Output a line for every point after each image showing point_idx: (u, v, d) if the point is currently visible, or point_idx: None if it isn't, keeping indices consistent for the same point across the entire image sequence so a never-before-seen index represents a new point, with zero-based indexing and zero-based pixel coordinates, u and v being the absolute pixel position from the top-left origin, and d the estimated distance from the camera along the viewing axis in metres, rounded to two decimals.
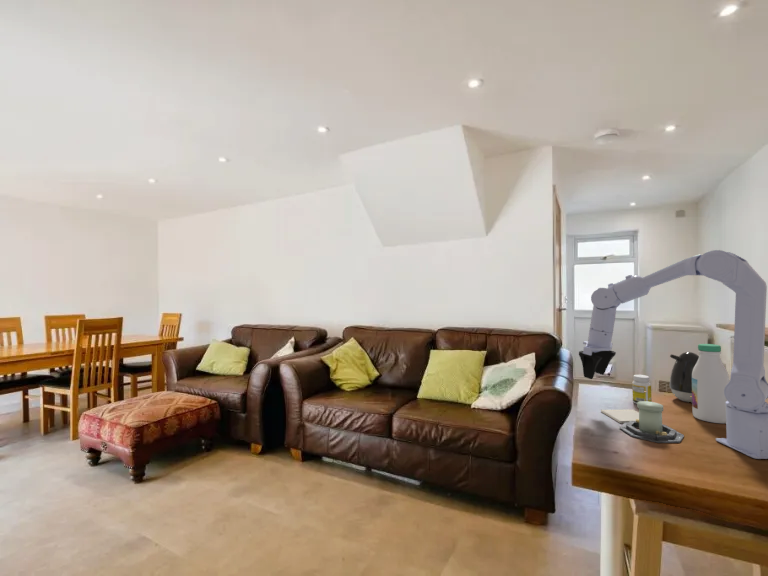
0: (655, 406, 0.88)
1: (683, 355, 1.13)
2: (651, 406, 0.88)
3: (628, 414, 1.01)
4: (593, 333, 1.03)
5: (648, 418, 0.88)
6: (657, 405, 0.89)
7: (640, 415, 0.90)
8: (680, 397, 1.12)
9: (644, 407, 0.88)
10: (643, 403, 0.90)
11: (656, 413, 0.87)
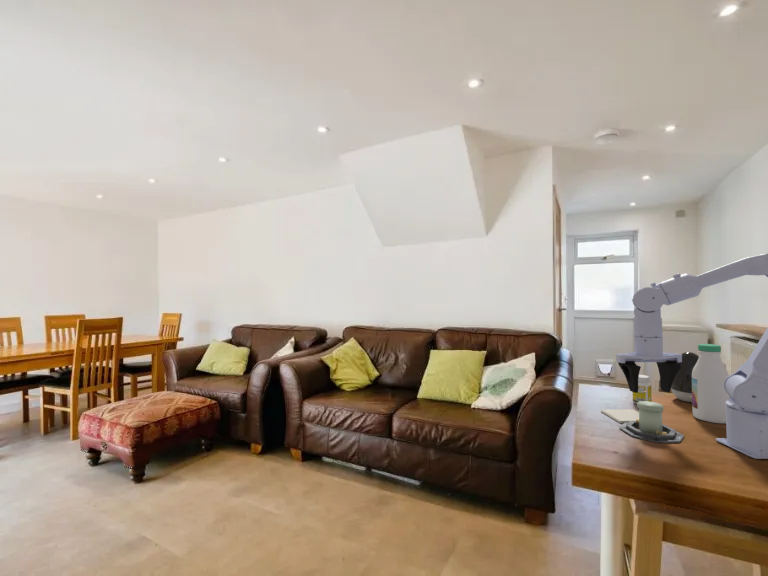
0: (655, 406, 0.88)
1: (683, 355, 1.13)
2: (651, 406, 0.88)
3: (628, 414, 1.01)
4: (634, 340, 0.91)
5: (648, 418, 0.88)
6: (657, 405, 0.89)
7: (640, 415, 0.90)
8: (680, 397, 1.12)
9: (644, 407, 0.88)
10: (643, 403, 0.90)
11: (656, 413, 0.87)
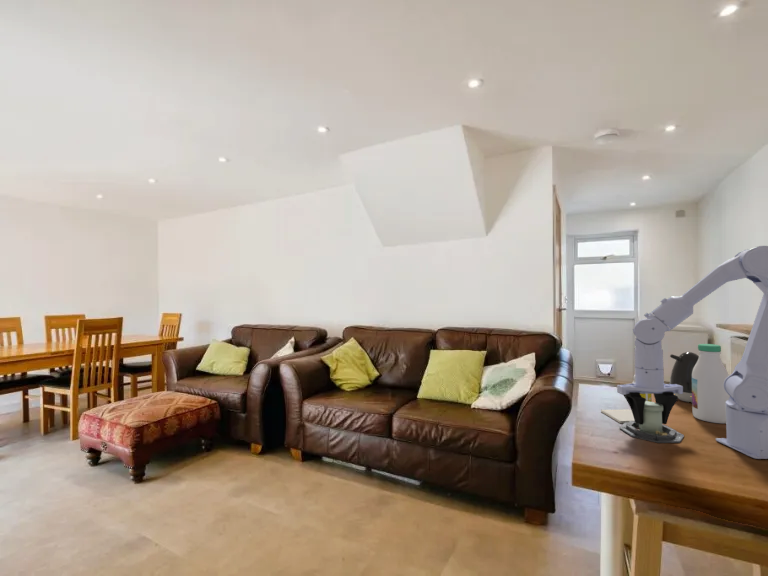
0: (655, 406, 0.88)
1: (683, 355, 1.13)
2: (651, 406, 0.88)
3: (628, 414, 1.01)
4: (635, 371, 0.91)
5: (648, 418, 0.88)
6: (657, 405, 0.89)
7: None
8: (680, 397, 1.12)
9: (644, 407, 0.88)
10: None
11: (656, 413, 0.87)
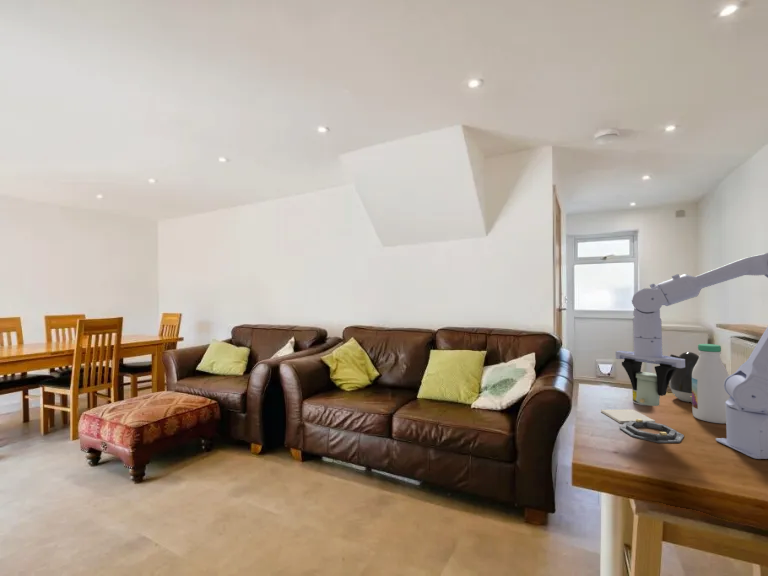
0: (646, 375, 0.89)
1: (683, 355, 1.13)
2: (642, 374, 0.90)
3: (628, 414, 1.01)
4: None
5: (637, 385, 0.90)
6: (652, 376, 0.88)
7: None
8: (680, 397, 1.12)
9: None
10: (645, 373, 0.91)
11: (642, 381, 0.89)
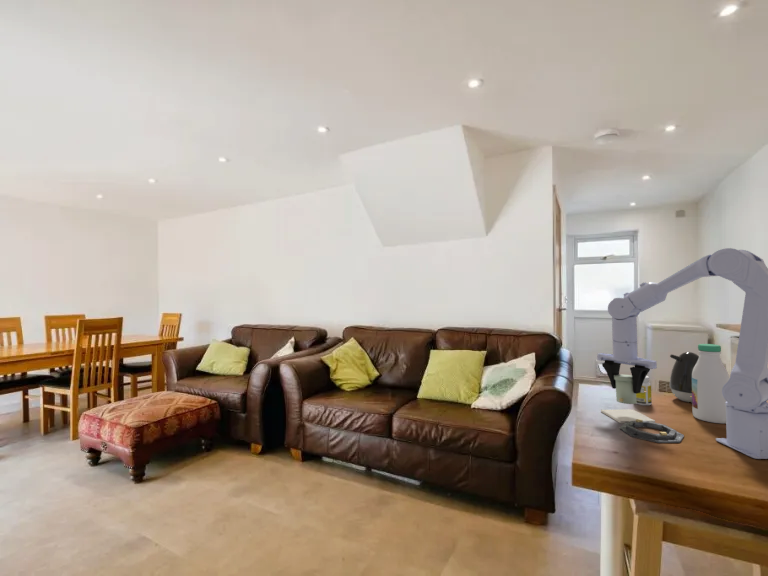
0: (622, 376, 0.99)
1: (683, 355, 1.13)
2: (619, 376, 1.00)
3: (628, 414, 1.01)
4: None
5: (616, 386, 1.01)
6: (628, 377, 0.99)
7: None
8: (680, 397, 1.12)
9: (614, 376, 1.02)
10: (622, 375, 1.02)
11: (620, 382, 0.99)
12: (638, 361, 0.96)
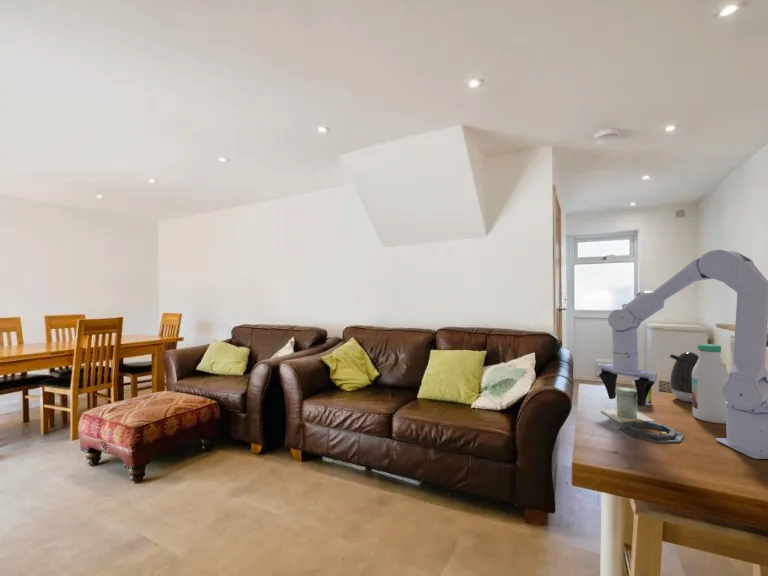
0: (624, 391, 0.99)
1: (683, 355, 1.13)
2: (620, 390, 1.00)
3: None
4: None
5: (617, 400, 1.01)
6: (629, 391, 0.99)
7: None
8: (680, 397, 1.12)
9: (615, 390, 1.01)
10: (623, 388, 1.01)
11: (621, 397, 0.99)
12: (638, 373, 0.96)
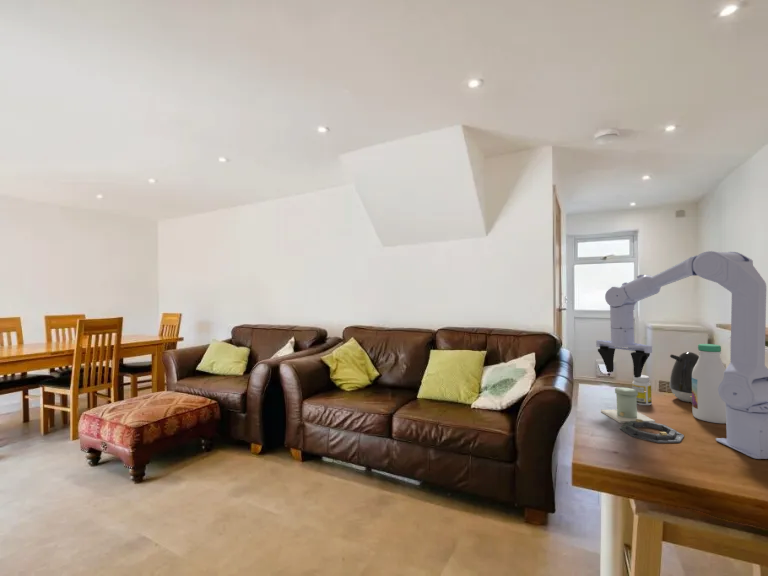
0: (624, 391, 0.99)
1: (683, 355, 1.13)
2: (620, 390, 1.00)
3: None
4: None
5: (617, 400, 1.01)
6: (629, 391, 0.99)
7: None
8: (680, 397, 1.12)
9: (615, 390, 1.01)
10: (623, 388, 1.01)
11: (621, 397, 0.99)
12: (635, 346, 1.02)
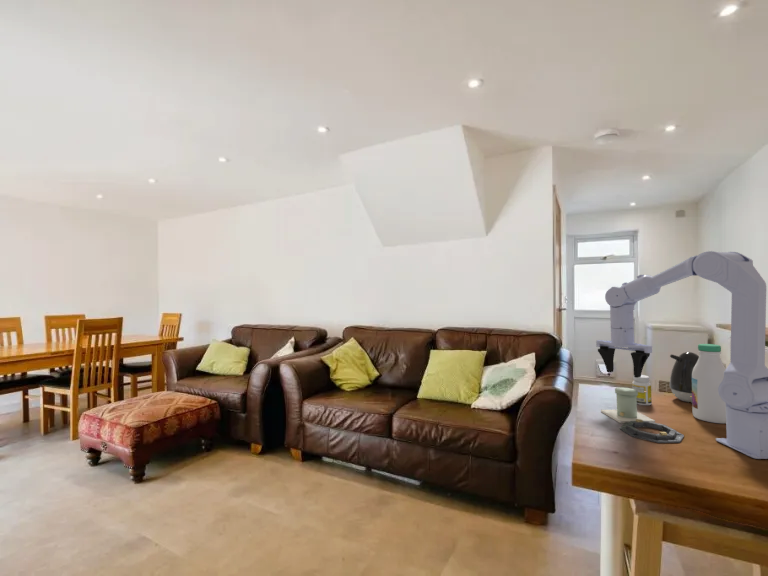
0: (624, 391, 0.99)
1: (683, 355, 1.13)
2: (620, 390, 1.00)
3: None
4: None
5: (617, 400, 1.01)
6: (629, 391, 0.99)
7: None
8: (680, 397, 1.12)
9: (615, 390, 1.01)
10: (623, 388, 1.01)
11: (621, 397, 0.99)
12: (635, 346, 1.02)
